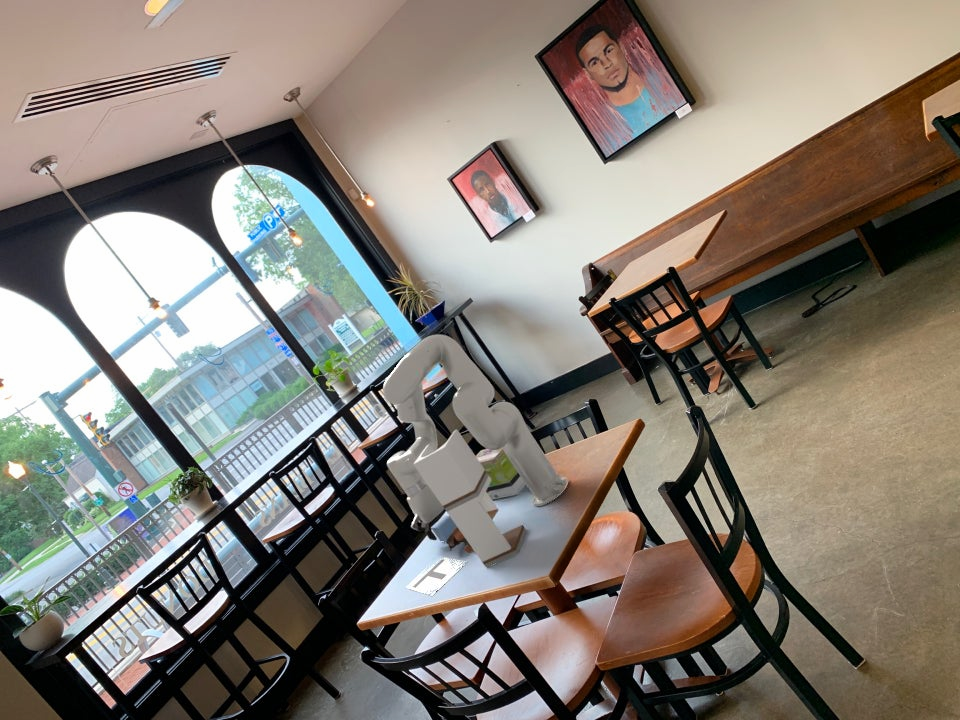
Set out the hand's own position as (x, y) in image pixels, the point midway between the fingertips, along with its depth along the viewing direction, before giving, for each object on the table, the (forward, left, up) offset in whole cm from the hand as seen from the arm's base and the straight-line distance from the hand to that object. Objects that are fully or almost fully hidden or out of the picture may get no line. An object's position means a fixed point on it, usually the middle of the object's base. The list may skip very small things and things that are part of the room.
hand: (445, 529), depth 235 cm
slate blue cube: (0, 0, -3) cm, 3 cm away
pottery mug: (-19, +2, -3) cm, 19 cm away
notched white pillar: (-39, +2, -3) cm, 40 cm away
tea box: (-6, -24, -3) cm, 25 cm away
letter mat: (-16, +16, -3) cm, 23 cm away
